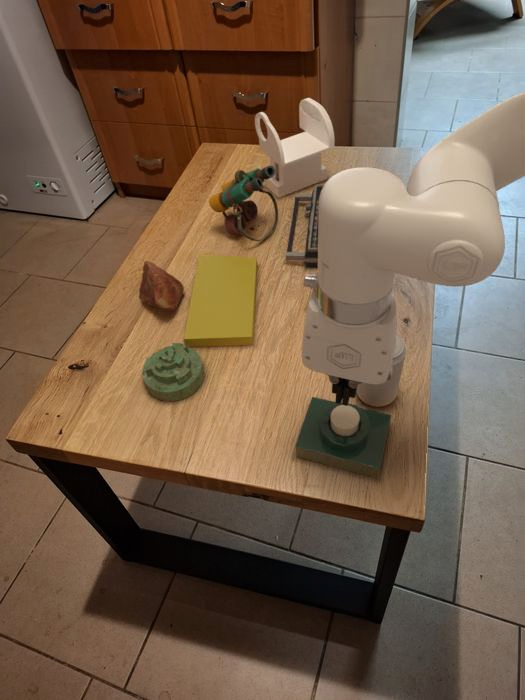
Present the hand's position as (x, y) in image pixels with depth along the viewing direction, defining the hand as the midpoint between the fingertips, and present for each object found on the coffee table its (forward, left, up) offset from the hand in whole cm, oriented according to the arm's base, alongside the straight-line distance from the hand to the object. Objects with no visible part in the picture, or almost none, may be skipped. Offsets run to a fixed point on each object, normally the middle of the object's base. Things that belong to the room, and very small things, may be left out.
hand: (343, 395), depth 63 cm
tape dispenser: (+28, -68, -12) cm, 74 cm away
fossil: (+41, -21, -12) cm, 47 cm away
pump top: (0, 0, -7) cm, 7 cm away
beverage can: (-3, -10, -12) cm, 16 cm away
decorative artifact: (+30, -4, -12) cm, 32 cm away
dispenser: (0, 0, -12) cm, 12 cm away
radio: (+13, -50, -12) cm, 53 cm away
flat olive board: (+29, -24, -12) cm, 39 cm away
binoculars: (+33, -47, -12) cm, 58 cm away
